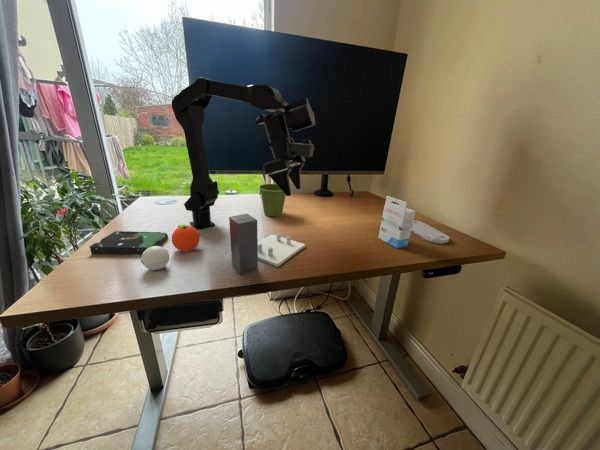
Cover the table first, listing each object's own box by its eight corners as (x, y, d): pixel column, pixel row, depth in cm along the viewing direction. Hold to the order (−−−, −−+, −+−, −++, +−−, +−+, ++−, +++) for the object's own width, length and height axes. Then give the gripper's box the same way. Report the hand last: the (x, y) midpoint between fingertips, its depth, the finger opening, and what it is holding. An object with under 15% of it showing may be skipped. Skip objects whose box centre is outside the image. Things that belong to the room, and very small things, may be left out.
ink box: (408, 246, 76) (419, 201, 70) (397, 248, 74) (407, 202, 68) (388, 235, 83) (397, 194, 77) (377, 237, 81) (385, 195, 75)
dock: (241, 253, 66) (241, 244, 65) (272, 236, 77) (272, 228, 76) (277, 266, 60) (277, 257, 59) (304, 246, 72) (305, 238, 70)
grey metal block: (232, 266, 60) (229, 216, 55) (248, 261, 62) (247, 213, 57) (240, 275, 56) (238, 223, 51) (257, 269, 59) (257, 220, 54)
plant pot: (253, 217, 93) (253, 188, 89) (264, 208, 104) (264, 182, 99) (283, 221, 91) (284, 191, 86) (291, 211, 101) (292, 185, 97)
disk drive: (91, 256, 61) (152, 256, 62) (88, 247, 60) (150, 247, 61) (116, 239, 71) (169, 239, 72) (114, 230, 70) (167, 231, 71)
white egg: (148, 263, 59) (143, 242, 57) (173, 261, 60) (170, 241, 58) (135, 281, 52) (130, 258, 50) (164, 279, 53) (160, 256, 51)
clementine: (167, 247, 66) (163, 224, 64) (192, 240, 71) (189, 218, 69) (180, 258, 62) (176, 233, 59) (205, 250, 66) (203, 226, 64)
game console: (455, 237, 79) (433, 238, 77) (452, 244, 80) (431, 245, 78) (418, 218, 95) (400, 219, 93) (417, 224, 96) (399, 225, 94)
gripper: (296, 127, 54) (313, 193, 58) (314, 128, 71) (326, 180, 75) (253, 140, 58) (272, 202, 62) (280, 139, 75) (294, 188, 79)
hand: (294, 192), depth 69 cm, fingers open, 9 cm apart
